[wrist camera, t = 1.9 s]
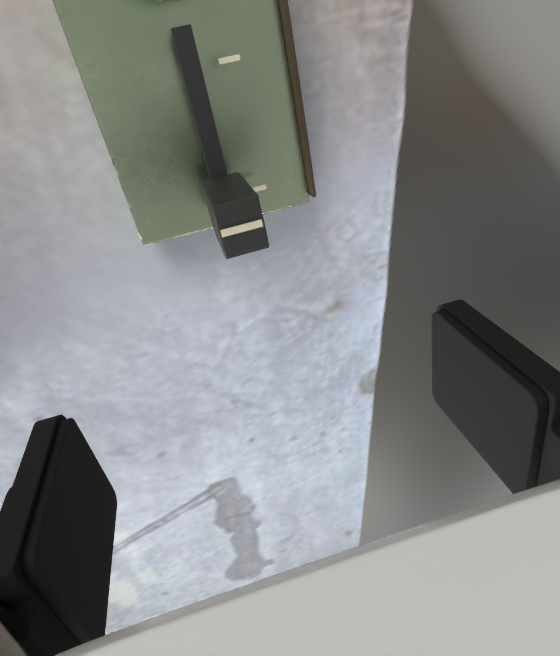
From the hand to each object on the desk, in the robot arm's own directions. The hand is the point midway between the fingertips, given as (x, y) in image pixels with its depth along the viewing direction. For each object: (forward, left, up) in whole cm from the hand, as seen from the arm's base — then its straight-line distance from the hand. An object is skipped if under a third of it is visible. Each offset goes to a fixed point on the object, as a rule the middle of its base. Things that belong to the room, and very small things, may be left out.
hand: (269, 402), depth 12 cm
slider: (-1, +2, -15) cm, 15 cm away
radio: (-7, +4, -20) cm, 22 cm away
